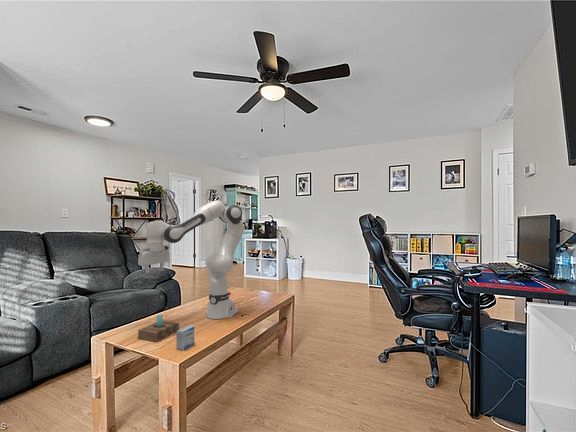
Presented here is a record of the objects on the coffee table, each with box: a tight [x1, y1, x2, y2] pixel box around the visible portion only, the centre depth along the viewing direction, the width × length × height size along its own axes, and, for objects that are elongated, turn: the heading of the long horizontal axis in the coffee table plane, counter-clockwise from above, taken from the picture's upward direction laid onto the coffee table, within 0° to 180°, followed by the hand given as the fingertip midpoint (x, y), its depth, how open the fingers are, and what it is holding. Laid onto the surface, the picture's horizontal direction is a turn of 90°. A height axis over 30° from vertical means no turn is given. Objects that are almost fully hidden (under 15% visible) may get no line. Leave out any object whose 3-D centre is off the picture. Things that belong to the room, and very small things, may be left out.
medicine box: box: [175, 325, 195, 351], centre depth 138 cm, size 8×4×9 cm, turn 160°
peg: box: [155, 314, 164, 328], centre depth 153 cm, size 3×3×10 cm
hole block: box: [137, 319, 180, 343], centre depth 153 cm, size 16×12×4 cm
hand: (154, 271), depth 168 cm, fingers open, 8 cm apart
